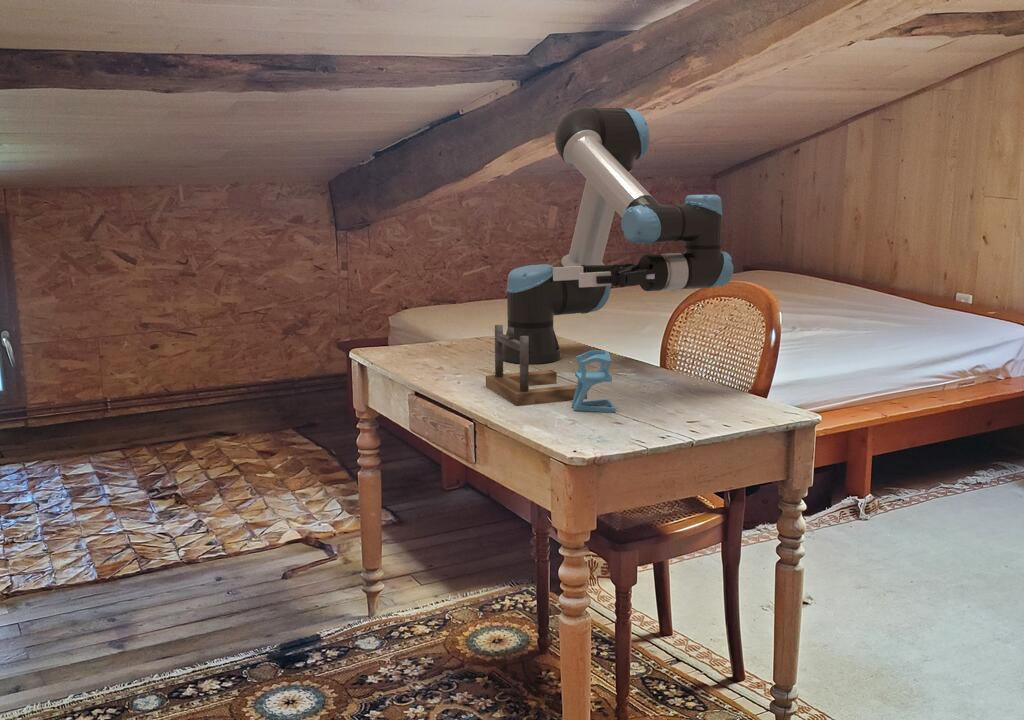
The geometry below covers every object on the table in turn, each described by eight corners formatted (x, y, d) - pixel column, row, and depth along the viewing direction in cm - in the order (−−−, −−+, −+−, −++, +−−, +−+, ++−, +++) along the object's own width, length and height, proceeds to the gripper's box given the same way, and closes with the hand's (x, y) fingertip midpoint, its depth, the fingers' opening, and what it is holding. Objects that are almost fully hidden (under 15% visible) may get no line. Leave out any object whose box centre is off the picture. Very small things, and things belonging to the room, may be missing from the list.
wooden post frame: (551, 380, 228) (551, 317, 225) (586, 398, 210) (587, 330, 207) (485, 386, 222) (485, 322, 219) (516, 405, 205) (516, 336, 202)
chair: (569, 404, 206) (570, 347, 203) (609, 403, 206) (610, 346, 204) (575, 413, 198) (575, 354, 196) (616, 412, 199) (617, 353, 196)
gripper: (690, 296, 194) (591, 302, 188) (634, 284, 218) (543, 289, 211) (691, 258, 193) (591, 263, 186) (634, 250, 216) (543, 254, 209)
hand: (566, 277), depth 198 cm, fingers open, 13 cm apart
